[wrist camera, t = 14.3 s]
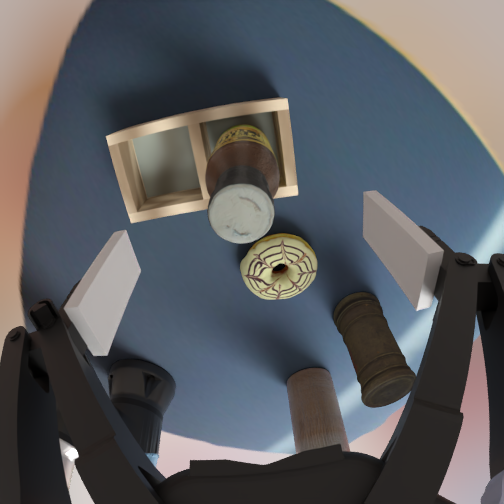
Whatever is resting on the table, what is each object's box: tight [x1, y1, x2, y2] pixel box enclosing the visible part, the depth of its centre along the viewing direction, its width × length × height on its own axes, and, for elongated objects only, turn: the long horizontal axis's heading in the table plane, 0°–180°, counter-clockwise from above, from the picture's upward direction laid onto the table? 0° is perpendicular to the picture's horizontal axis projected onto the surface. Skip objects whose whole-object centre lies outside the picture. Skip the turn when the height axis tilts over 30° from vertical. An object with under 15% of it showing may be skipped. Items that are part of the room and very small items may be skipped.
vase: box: [287, 368, 350, 454], centre depth 49 cm, size 10×10×28 cm
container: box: [333, 292, 416, 408], centre depth 43 cm, size 9×9×18 cm
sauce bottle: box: [205, 124, 280, 244], centre depth 26 cm, size 6×6×20 cm
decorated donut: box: [240, 233, 317, 299], centre depth 43 cm, size 10×11×4 cm
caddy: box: [106, 97, 298, 223], centre depth 33 cm, size 20×11×6 cm, turn 98°
